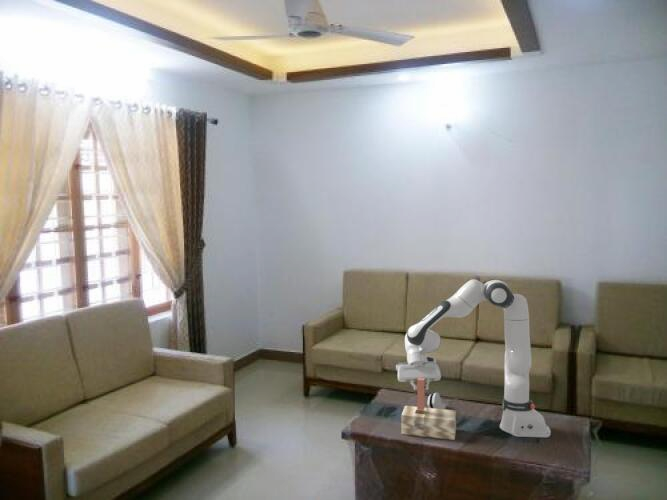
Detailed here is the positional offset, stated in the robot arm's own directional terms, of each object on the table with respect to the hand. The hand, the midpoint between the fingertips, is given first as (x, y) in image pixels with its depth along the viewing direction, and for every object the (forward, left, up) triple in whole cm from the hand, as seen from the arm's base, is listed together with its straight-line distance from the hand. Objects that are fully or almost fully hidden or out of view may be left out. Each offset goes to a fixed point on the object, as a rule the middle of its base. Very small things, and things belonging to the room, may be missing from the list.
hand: (421, 389), depth 258 cm
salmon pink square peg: (0, -1, -9) cm, 9 cm away
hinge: (-5, -26, -21) cm, 33 cm away
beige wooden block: (-4, -1, -20) cm, 20 cm away
